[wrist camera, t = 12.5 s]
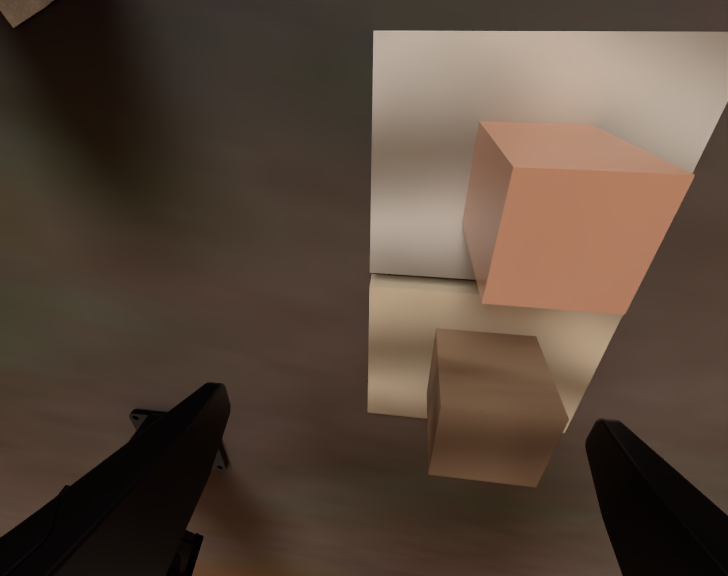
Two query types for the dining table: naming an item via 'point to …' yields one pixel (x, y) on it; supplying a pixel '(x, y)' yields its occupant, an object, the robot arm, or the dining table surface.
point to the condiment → (21, 9)
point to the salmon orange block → (565, 215)
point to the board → (453, 167)
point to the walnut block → (491, 408)
